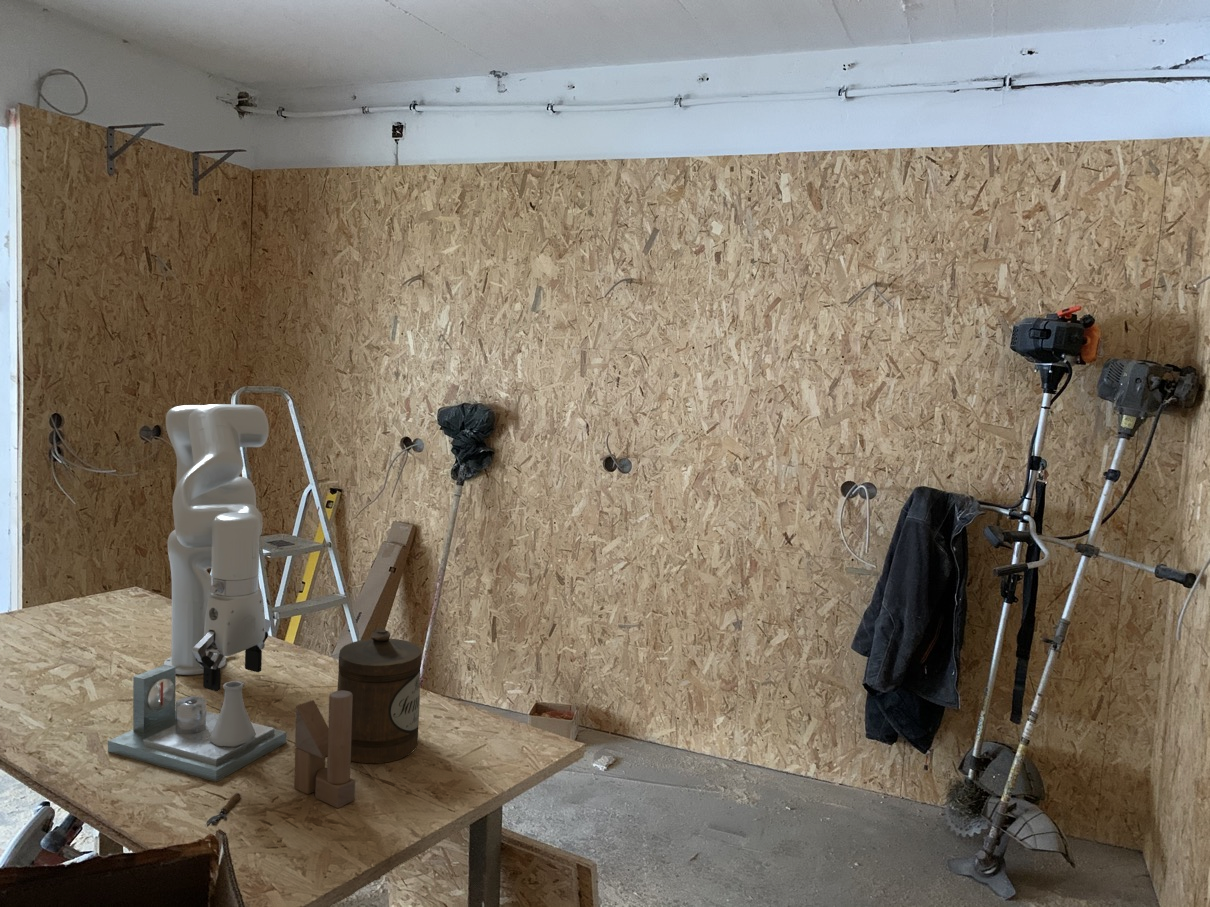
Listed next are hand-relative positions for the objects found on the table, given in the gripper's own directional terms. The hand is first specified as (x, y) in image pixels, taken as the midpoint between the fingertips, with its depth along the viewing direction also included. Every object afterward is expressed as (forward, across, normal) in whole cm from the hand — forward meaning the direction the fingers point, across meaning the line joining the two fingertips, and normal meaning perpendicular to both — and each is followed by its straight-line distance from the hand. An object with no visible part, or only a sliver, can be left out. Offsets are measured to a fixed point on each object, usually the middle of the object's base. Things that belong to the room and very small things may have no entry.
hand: (233, 679), depth 156 cm
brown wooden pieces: (+13, -5, -23) cm, 27 cm away
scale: (+14, -1, +7) cm, 15 cm away
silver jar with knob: (+11, -1, +9) cm, 14 cm away
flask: (+11, 0, -1) cm, 11 cm away
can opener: (+14, -16, -13) cm, 25 cm away
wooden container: (+14, +14, -20) cm, 28 cm away
